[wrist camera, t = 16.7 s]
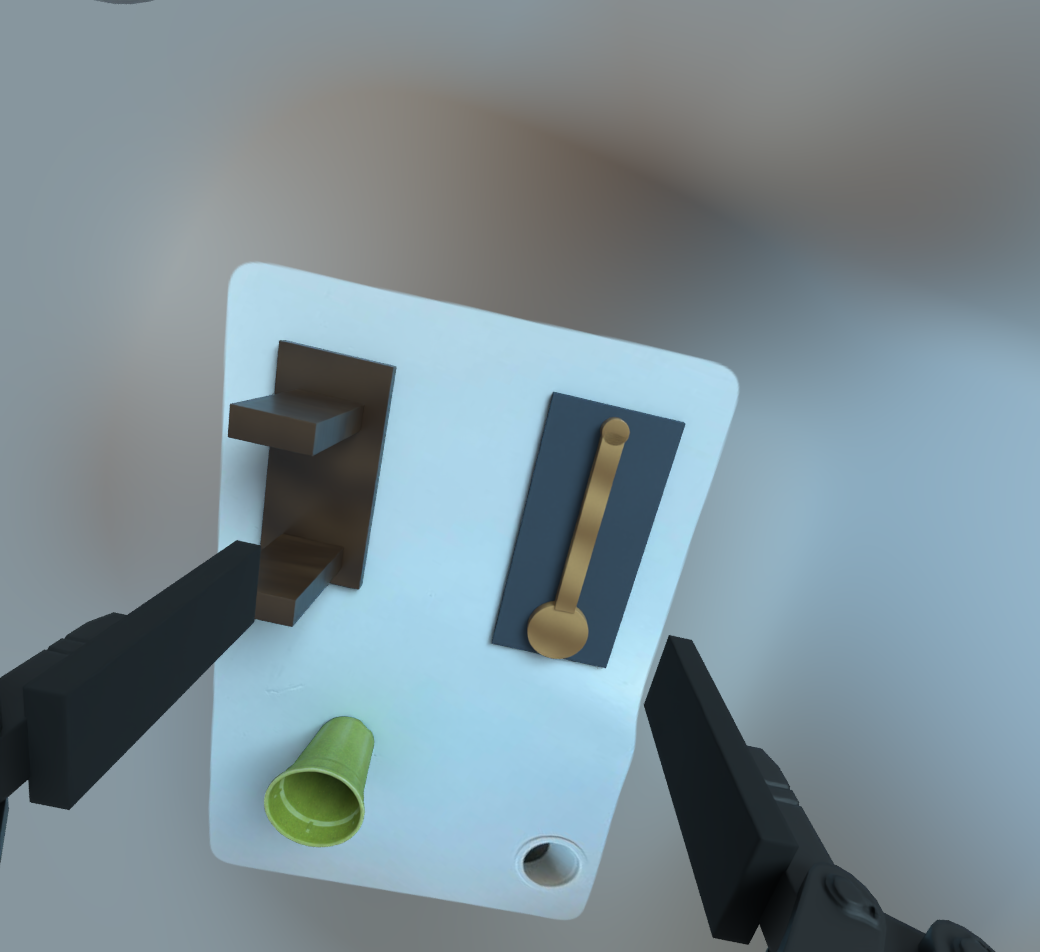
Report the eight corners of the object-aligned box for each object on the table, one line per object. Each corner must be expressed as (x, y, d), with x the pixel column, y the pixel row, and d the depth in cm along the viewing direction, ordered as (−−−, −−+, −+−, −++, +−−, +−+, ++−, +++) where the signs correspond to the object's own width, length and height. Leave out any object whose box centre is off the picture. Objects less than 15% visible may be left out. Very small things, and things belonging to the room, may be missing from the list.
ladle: (584, 409, 43) (585, 411, 42) (650, 425, 44) (653, 427, 43) (521, 646, 50) (521, 653, 49) (578, 658, 50) (579, 666, 49)
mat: (553, 391, 44) (553, 392, 43) (683, 422, 44) (685, 423, 44) (492, 640, 51) (491, 643, 50) (605, 664, 51) (606, 668, 51)
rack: (284, 340, 43) (203, 340, 33) (396, 366, 44) (352, 375, 33) (263, 563, 49) (188, 625, 39) (362, 584, 49) (315, 652, 39)
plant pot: (303, 698, 53) (260, 765, 45) (389, 705, 53) (363, 774, 45) (306, 767, 56) (266, 843, 48) (389, 774, 56) (364, 851, 47)
